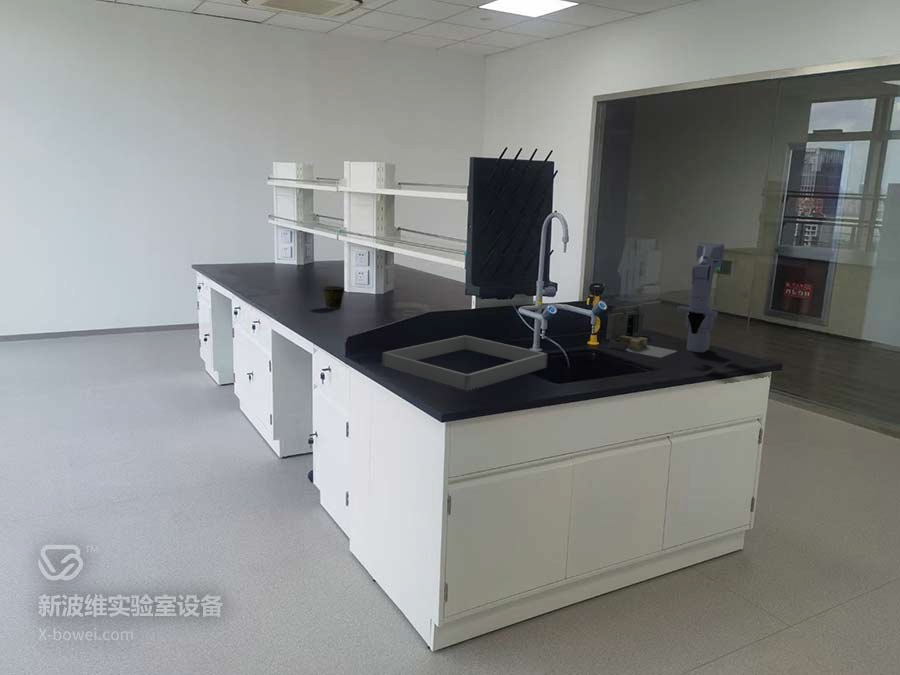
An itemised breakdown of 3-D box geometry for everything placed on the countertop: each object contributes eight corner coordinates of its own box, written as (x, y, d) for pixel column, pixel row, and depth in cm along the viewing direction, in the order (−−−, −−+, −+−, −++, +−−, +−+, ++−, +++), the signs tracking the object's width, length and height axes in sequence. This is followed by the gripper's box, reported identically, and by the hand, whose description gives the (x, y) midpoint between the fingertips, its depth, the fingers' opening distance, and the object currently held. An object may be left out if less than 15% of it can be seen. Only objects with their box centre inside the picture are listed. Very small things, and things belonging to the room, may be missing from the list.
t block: (626, 342, 284) (626, 334, 283) (646, 347, 278) (647, 338, 277) (615, 346, 277) (616, 337, 276) (636, 350, 271) (637, 341, 271)
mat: (626, 343, 288) (626, 341, 287) (677, 353, 273) (678, 351, 273) (607, 349, 276) (607, 346, 275) (659, 360, 262) (660, 357, 261)
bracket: (626, 341, 287) (627, 335, 286) (643, 344, 282) (643, 338, 282) (608, 346, 275) (608, 341, 275) (625, 350, 271) (625, 344, 270)
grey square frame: (464, 347, 268) (465, 335, 267) (546, 367, 245) (547, 353, 244) (381, 367, 236) (382, 352, 235) (466, 391, 213) (467, 375, 211)
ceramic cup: (325, 305, 343) (325, 285, 341) (345, 306, 343) (345, 286, 341) (320, 310, 331) (320, 289, 329) (341, 311, 331) (341, 290, 329)
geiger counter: (616, 308, 287) (654, 304, 302) (604, 305, 292) (643, 301, 307) (612, 341, 290) (651, 335, 305) (601, 338, 295) (639, 332, 310)
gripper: (675, 295, 260) (671, 331, 263) (714, 300, 251) (709, 337, 254) (683, 294, 265) (679, 329, 268) (721, 299, 256) (716, 335, 259)
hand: (694, 333), depth 261 cm, fingers closed
